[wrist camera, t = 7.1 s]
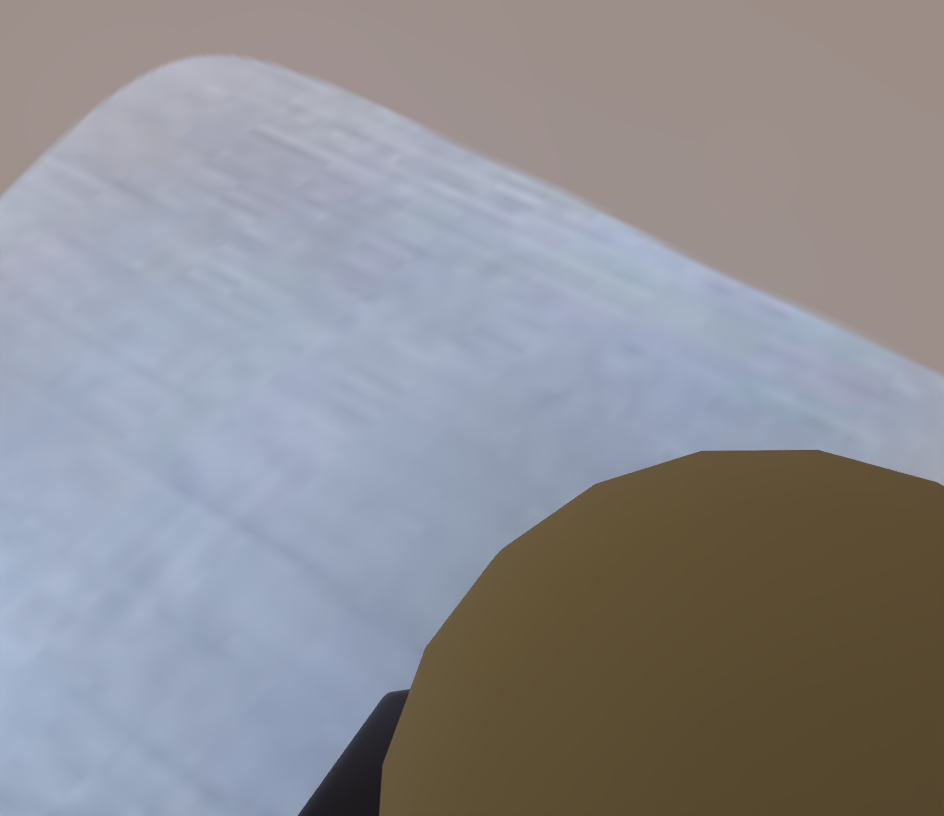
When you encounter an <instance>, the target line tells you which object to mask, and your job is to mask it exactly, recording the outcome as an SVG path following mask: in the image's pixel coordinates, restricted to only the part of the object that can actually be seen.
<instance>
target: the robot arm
mask: <svg viewBox="0 0 944 816" xmlns="http://www.w3.org/2000/svg"><path fill="white" fill-rule="evenodd" d="M409 691H410V689H407V690H401V691H395V692H390V693H388V694H386V695H385V696H384V697H383V698H382V699H381V701H380V702H379V703H378V705H377V706H376V708H375V709H374V710H373V712H372V713H371V715H370V716H369V717H368V719H367V720H366V722H365V723H364V724H363V726H362V727H361V728H360V730H359V731H358V733H357V734H356V735H355V737H354V738H353V740H352V741H351V742H350V744H349V745H348V747H347V748H346V749H345V751H344V752H343V753H342V755H341V756H340V758H339V759H338V760H337V762H336V763H335V765H334V766H333V767H332V769H331V770H330V772H329V773H328V774H327V776H326V777H325V778H324V780H323V781H322V783H321V784H320V785H319V787H318V788H317V790H316V791H315V792H314V794H313V795H312V797H311V798H310V799H309V801H308V802H307V803H306V805H305V806H304V808H303V809H302V810H301V812H300V813H299V815H298V816H379V810H380V795H381V780H382V765H383V762H384V760H385V757H386V754H387V751H388V749H389V746H390V743H391V741H392V738H393V735H394V732H395V730H396V727H397V724H398V721H399V719H400V716H401V713H402V711H403V708H404V705H405V702H406V700H407V697H408V694H409Z"/></svg>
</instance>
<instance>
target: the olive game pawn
mask: <svg viewBox="0 0 944 816" xmlns="http://www.w3.org/2000/svg"><path fill="white" fill-rule="evenodd" d="M379 816H944V486H943V485H941V484H939V483H937V482H933V481H930V480H926V479H922V478H919V477H915V476H911V475H908V474H904V473H900V472H897V471H893V470H889V469H886V468H882V467H878V466H875V465H871V464H867V463H864V462H860V461H856V460H853V459H849V458H845V457H842V456H838V455H834V454H831V453H827V452H823V451H820V450H761V451H700V452H697V453H694V454H690V455H687V456H684V457H681V458H678V459H674V460H671V461H668V462H665V463H662V464H658V465H655V466H652V467H649V468H645V469H642V470H639V471H636V472H633V473H629V474H626V475H623V476H620V477H617V478H613V479H610V480H607V481H604V482H600V483H597V484H595V485H593V486H592V487H590V488H589V489H587V490H586V491H585V492H583V493H582V494H580V495H579V496H577V497H576V498H575V499H573V500H572V501H570V502H569V503H567V504H566V505H565V506H563V507H562V508H560V509H559V510H557V511H556V512H555V513H553V514H552V515H550V516H549V517H547V518H546V519H544V520H543V521H542V522H540V523H539V524H537V525H536V526H534V527H533V528H532V529H530V530H529V531H527V532H526V533H524V534H523V535H522V536H520V537H519V538H517V539H516V540H514V541H513V542H512V543H510V544H509V545H507V546H506V547H504V548H503V549H502V550H501V551H500V552H499V553H498V554H497V555H496V556H495V557H494V559H493V560H492V561H491V562H490V564H489V565H488V566H487V568H486V569H485V570H484V572H483V573H482V574H481V576H480V577H479V578H478V580H477V581H476V582H475V583H474V585H473V586H472V587H471V589H470V590H469V591H468V593H467V594H466V595H465V597H464V598H463V599H462V601H461V602H460V603H459V604H458V606H457V607H456V608H455V610H454V611H453V612H452V614H451V615H450V616H449V618H448V619H447V620H446V622H445V623H444V624H443V625H442V627H441V628H440V629H439V631H438V632H437V633H436V635H435V636H434V637H433V639H432V640H431V641H430V643H429V644H428V645H427V647H426V648H425V651H424V653H423V656H422V659H421V662H420V664H419V667H418V670H417V672H416V675H415V678H414V681H413V683H412V686H411V689H410V691H409V694H408V697H407V700H406V702H405V705H404V708H403V711H402V713H401V716H400V719H399V721H398V724H397V727H396V730H395V732H394V735H393V738H392V741H391V743H390V746H389V749H388V751H387V754H386V757H385V760H384V762H383V765H382V780H381V795H380V810H379Z"/></svg>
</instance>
